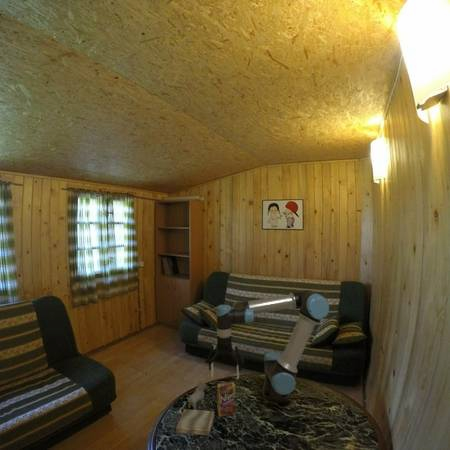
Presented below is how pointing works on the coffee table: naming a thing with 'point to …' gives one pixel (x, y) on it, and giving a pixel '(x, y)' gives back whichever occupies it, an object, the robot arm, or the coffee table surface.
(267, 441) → the coffee table surface
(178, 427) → the board
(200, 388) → the dog figurine
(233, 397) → the candy box
